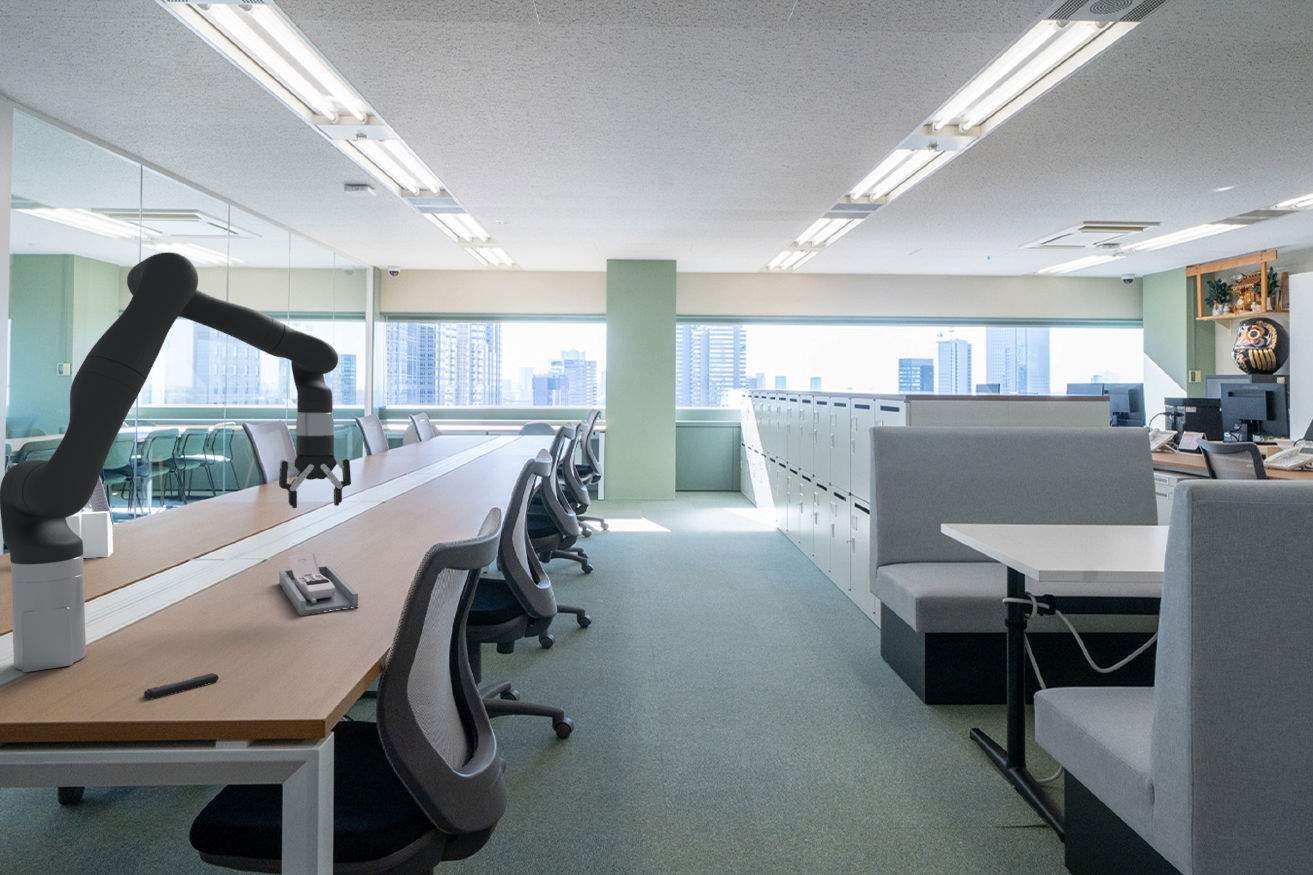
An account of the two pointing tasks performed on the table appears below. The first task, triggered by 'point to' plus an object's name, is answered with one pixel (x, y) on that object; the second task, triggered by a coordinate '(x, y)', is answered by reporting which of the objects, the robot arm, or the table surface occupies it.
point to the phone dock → (342, 598)
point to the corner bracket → (93, 532)
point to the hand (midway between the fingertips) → (315, 506)
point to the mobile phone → (310, 578)
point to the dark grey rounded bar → (180, 685)
